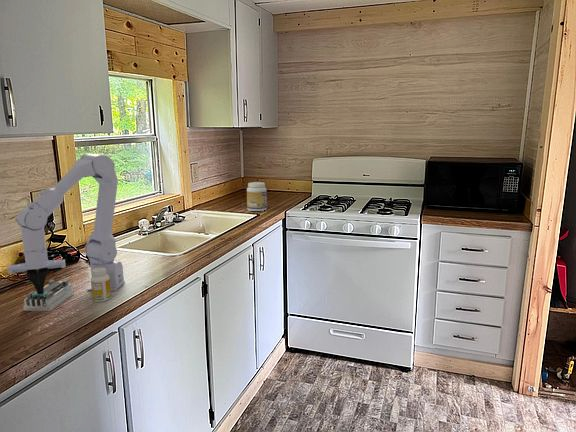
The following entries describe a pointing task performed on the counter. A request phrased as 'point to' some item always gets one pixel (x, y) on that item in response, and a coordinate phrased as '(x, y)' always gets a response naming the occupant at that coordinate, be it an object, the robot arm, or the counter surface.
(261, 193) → the supplement tub
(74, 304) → the counter surface
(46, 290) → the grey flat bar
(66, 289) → the heat sink
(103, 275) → the supplement bottle
